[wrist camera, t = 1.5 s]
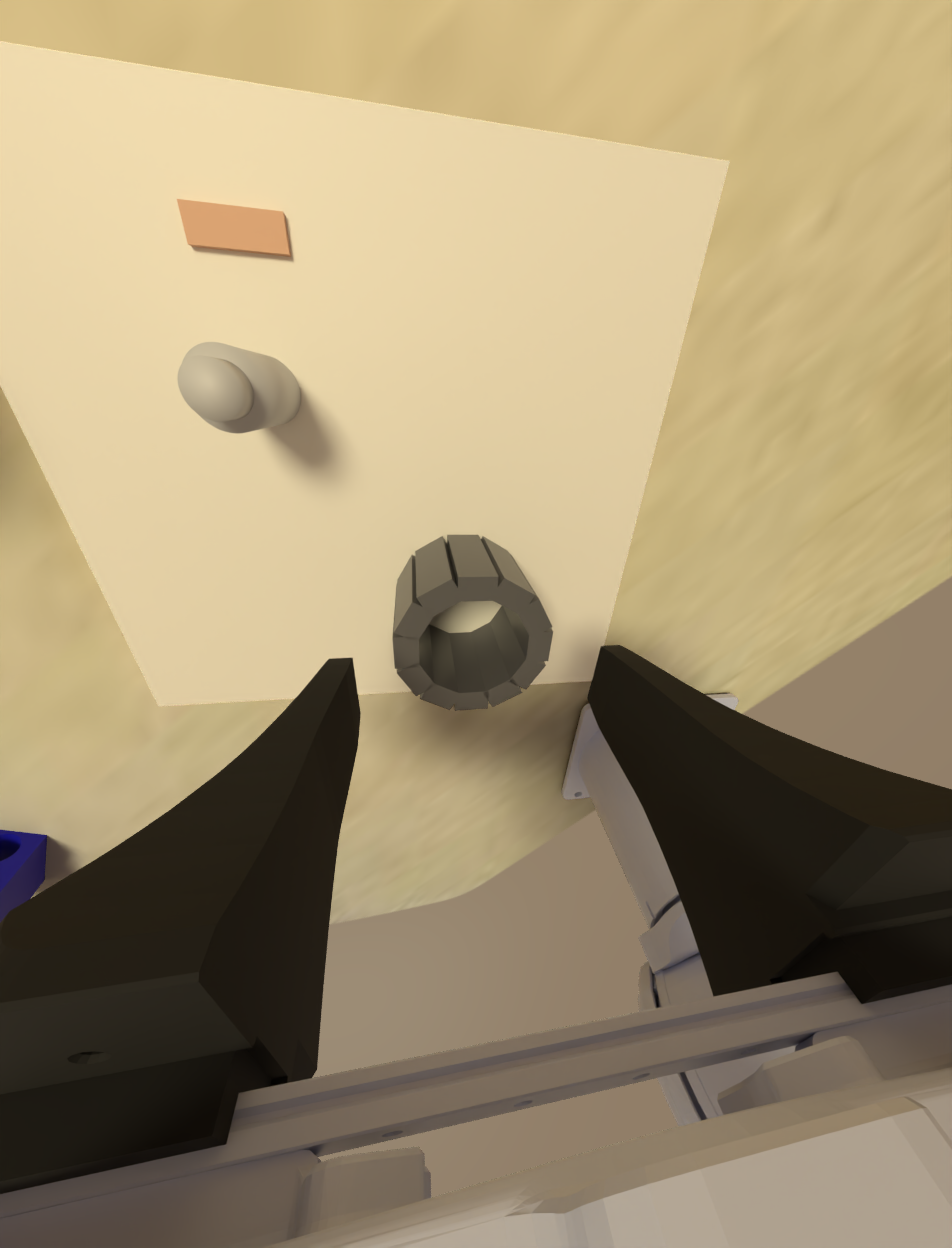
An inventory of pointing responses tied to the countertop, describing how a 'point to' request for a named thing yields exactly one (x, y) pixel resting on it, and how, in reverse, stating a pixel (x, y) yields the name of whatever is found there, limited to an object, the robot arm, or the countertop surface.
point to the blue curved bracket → (20, 867)
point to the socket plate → (330, 357)
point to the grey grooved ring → (467, 660)
